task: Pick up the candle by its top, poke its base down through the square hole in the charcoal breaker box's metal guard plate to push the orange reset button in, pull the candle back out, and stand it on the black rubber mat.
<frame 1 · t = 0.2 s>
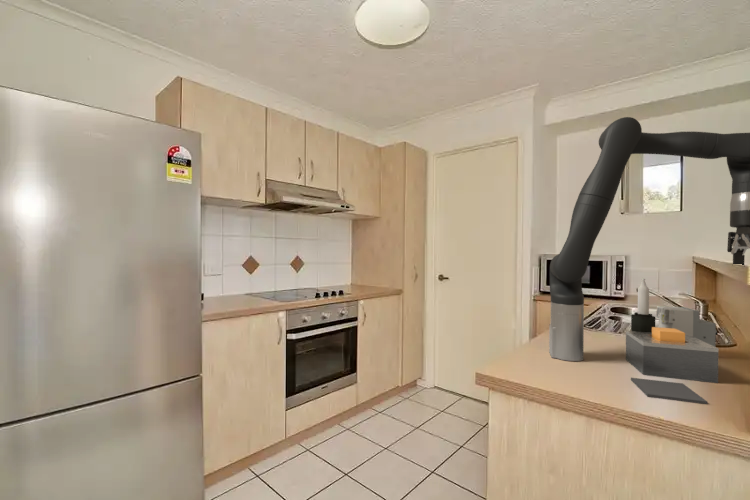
hand: (748, 268, 94), 29 cm above the counter, fingers open, 8 cm apart
breaker box: (667, 370, 98), on the counter
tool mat: (665, 391, 83), on the counter
circuit breaker: (687, 354, 113), on the counter
reset button: (667, 342, 98), point 8 cm above the counter, slide at 0.0 cm
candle: (642, 355, 112), on the counter
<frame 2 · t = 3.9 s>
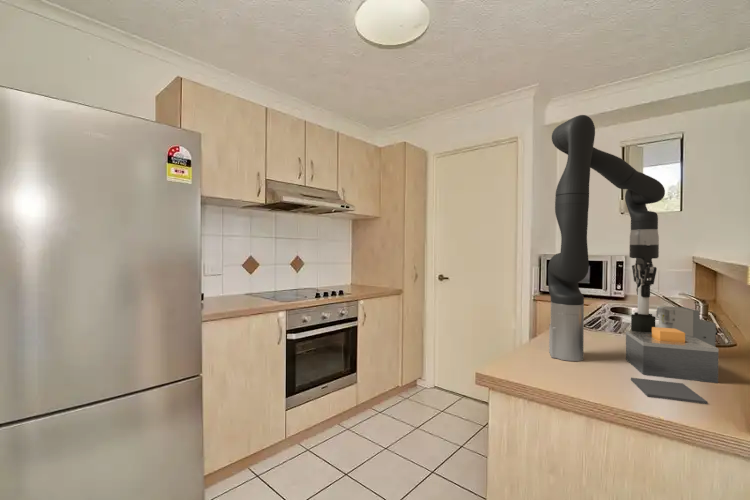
hand: (643, 296, 112), 19 cm above the counter, fingers closed on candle, 3 cm apart
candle: (642, 355, 112), on the counter, touching gripper
everything else where it was.
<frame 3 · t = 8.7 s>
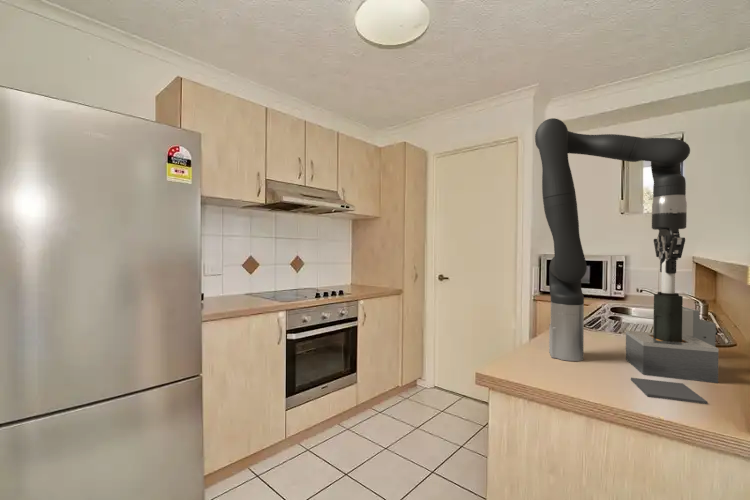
hand: (667, 272, 97), 28 cm above the counter, fingers closed on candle, 3 cm apart
reset button: (667, 352, 98), point 5 cm above the counter, slide at 2.9 cm, touching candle
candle: (667, 340, 98), point 8 cm above the counter, touching gripper, reset button
everything else where it was.
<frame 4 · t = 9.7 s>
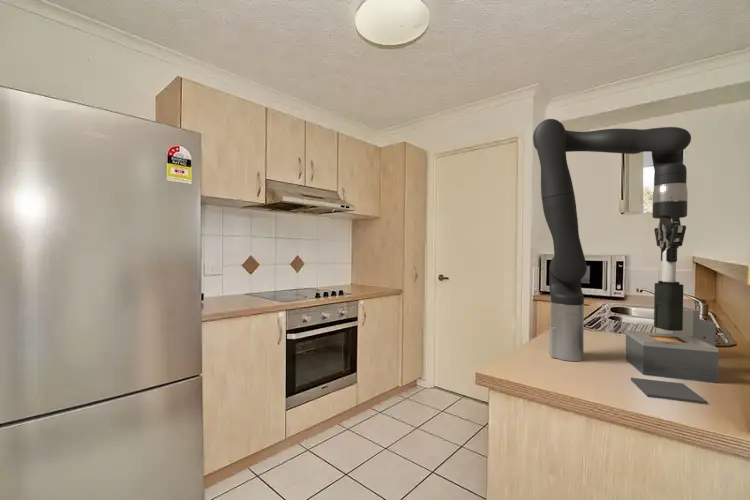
hand: (668, 261, 97), 31 cm above the counter, fingers closed on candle, 3 cm apart
reset button: (667, 352, 98), point 5 cm above the counter, slide at 2.9 cm
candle: (667, 329, 98), point 12 cm above the counter, touching gripper
everything else where it was.
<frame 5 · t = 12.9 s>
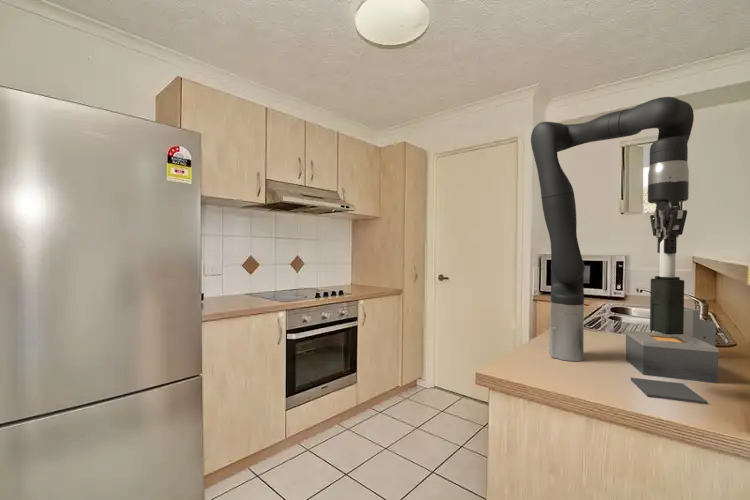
hand: (666, 253, 83), 33 cm above the counter, fingers closed on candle, 3 cm apart
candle: (666, 332, 83), point 14 cm above the counter, touching gripper
everything else where it was.
when the fingers open (21 cm above the counter, at t = 15.9 s): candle stays where it is, resting on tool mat.
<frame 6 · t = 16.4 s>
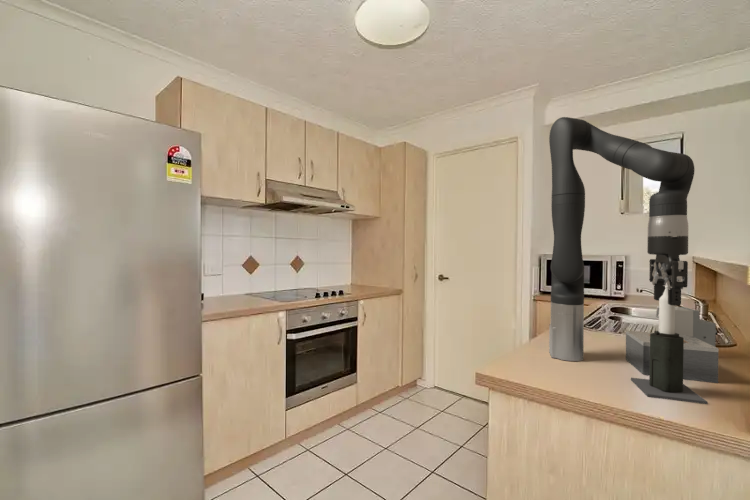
hand: (666, 302, 83), 22 cm above the counter, fingers open, 7 cm apart
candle: (665, 388, 83), resting on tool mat
everything else where it was.
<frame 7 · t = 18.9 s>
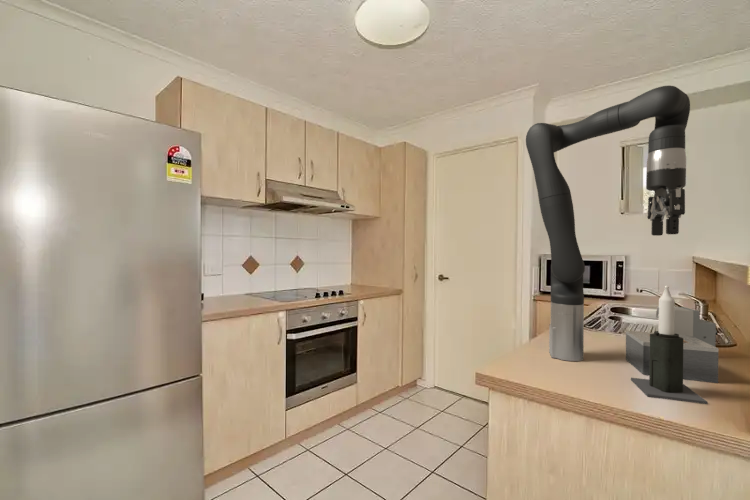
hand: (664, 234, 85), 38 cm above the counter, fingers open, 8 cm apart
nothing on the counter moved.
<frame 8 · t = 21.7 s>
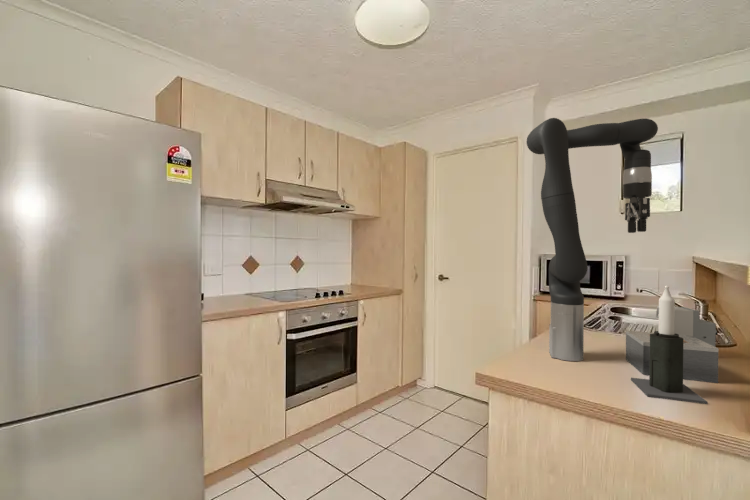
hand: (636, 232, 112), 40 cm above the counter, fingers open, 8 cm apart
nothing on the counter moved.
at the end: reset button slide at 2.9 cm; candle inside the target area (0.1 cm from its centre), resting on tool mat; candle tilted 0° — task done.
